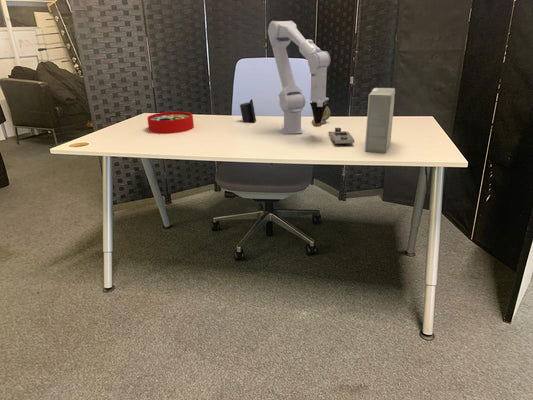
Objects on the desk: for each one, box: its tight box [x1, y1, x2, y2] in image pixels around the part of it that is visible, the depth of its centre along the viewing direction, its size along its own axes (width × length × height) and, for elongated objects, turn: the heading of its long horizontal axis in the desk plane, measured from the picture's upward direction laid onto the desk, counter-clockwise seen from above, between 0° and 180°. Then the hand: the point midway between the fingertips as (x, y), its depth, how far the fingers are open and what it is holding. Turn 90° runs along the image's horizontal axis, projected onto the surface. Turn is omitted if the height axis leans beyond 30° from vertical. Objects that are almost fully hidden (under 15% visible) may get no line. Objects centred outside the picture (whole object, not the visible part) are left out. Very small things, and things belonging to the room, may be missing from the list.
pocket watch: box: [311, 101, 331, 125], centre depth 180 cm, size 8×8×10 cm
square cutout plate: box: [327, 127, 355, 147], centre depth 153 cm, size 18×7×3 cm, turn 179°
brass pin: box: [312, 112, 322, 128], centre depth 152 cm, size 3×3×6 cm
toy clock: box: [146, 111, 195, 135], centre depth 178 cm, size 20×6×20 cm
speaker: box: [239, 99, 257, 124], centre depth 186 cm, size 8×6×10 cm
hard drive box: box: [364, 87, 396, 154], centre depth 140 cm, size 16×8×20 cm, turn 159°
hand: (317, 122), depth 153 cm, fingers closed on brass pin, 3 cm apart
